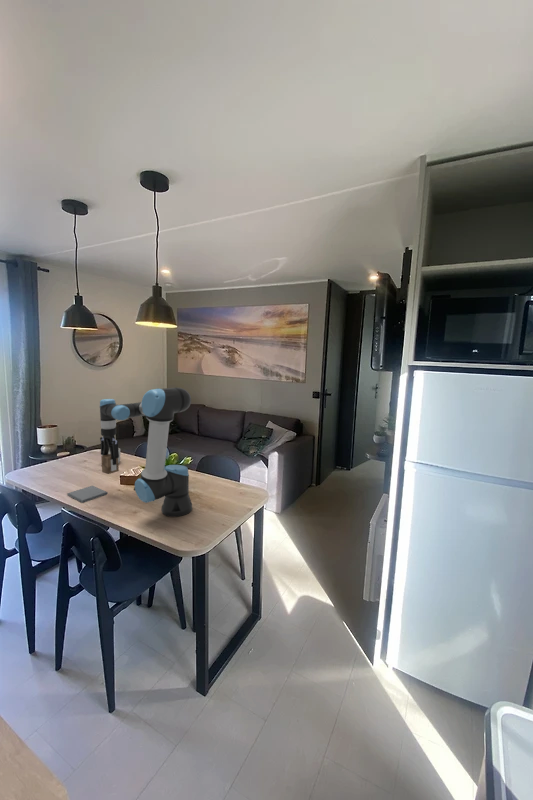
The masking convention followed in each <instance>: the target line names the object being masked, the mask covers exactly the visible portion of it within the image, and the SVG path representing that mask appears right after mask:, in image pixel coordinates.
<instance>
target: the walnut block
mask: <svg viewBox="0 0 533 800" xmlns="http://www.w3.org/2000/svg"><path fill="white" fill-rule="evenodd" d="M100 457H101V472H102V473H104V474H106V475H111V474H114V473H116V472H119V471H120V470H119V464H118V458H116V469H117V470H114V471H111V454H108V455H103V456H102V455H101V456H100Z"/></svg>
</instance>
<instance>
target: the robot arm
mask: <svg viewBox="0 0 533 800" xmlns="http://www.w3.org/2000/svg"><path fill="white" fill-rule="evenodd" d="M191 403H192V396H191V394H190V393H189V392H188V391H187V390H186V389H185V388H183V387H168V388H154V389H153V388H152V389H149V390H148V391H146V392H145V393H144V394H143V396H142V400H141V401H140V402H133V403H124V404H122V403H121V404H117V403H116V400H115V399H114V398H106V399H105V398H104V399H101V400H100V401H99V415H100V419H99V420H100V435H101V437H99V440H100V455H101V456H102V455H108V452H109V449H110V453H111V471H114V470H117V469H116V458H119V451H118V448H119V439H116V437H115V436H116V435H117V421H124V420H127V419H129V418H135V417H145V418H146V419H147V421H149V424H148V434H147V446H146V455H145V457H146V458H145V465H144V469H143V470H141V473H140V474H141V478H140V479H138V478H137V479H136V480H135V482H134V487H135V490H134V491H135V493H136V495H137V498H138V499H139V501H141V502H143V503H146V504H147V503H151V502H155V501H157V500H158V499H161V498H164V499H163V503H162V505H161V513H162V514H163V515H164V516H166V517H170V518H171V517H172V518H174V517H176V518H177V517H183V516H185V515H187V514H189V513H190V512H192V510H193V503H192V500H191V497H190V494H189V492H190V491H189V489H190V488H189V487H190V485H189V484H190V482H189V481H190V479H189V478H190V475H189V469H188V467H187V466H185V465H180V464H169V465H166V458H167V449H168V440H169V439H168V438H169V431H170V423H171V422H173V421H174V416H175V414H177V413H182V412H185V411H187V410H188V409H189V408H190V406H191Z"/></svg>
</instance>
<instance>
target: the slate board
mask: <svg viewBox="0 0 533 800" xmlns="http://www.w3.org/2000/svg"><path fill="white" fill-rule="evenodd" d="M107 495H109V493H108V491H106V490H104V489H102V488H98V487H97V486H94V485H90V486H89V485H88V486H87V487H83V488H80V489H77V490H76V489H75V490H74V491H70V492H67V493H66V496H67V497H70V498H72V499H73V500H75V501H77V502H79V503H81V504H84V503H87V502H89V501H92V500H95V499H97V498H101V497H104V496H107Z"/></svg>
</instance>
